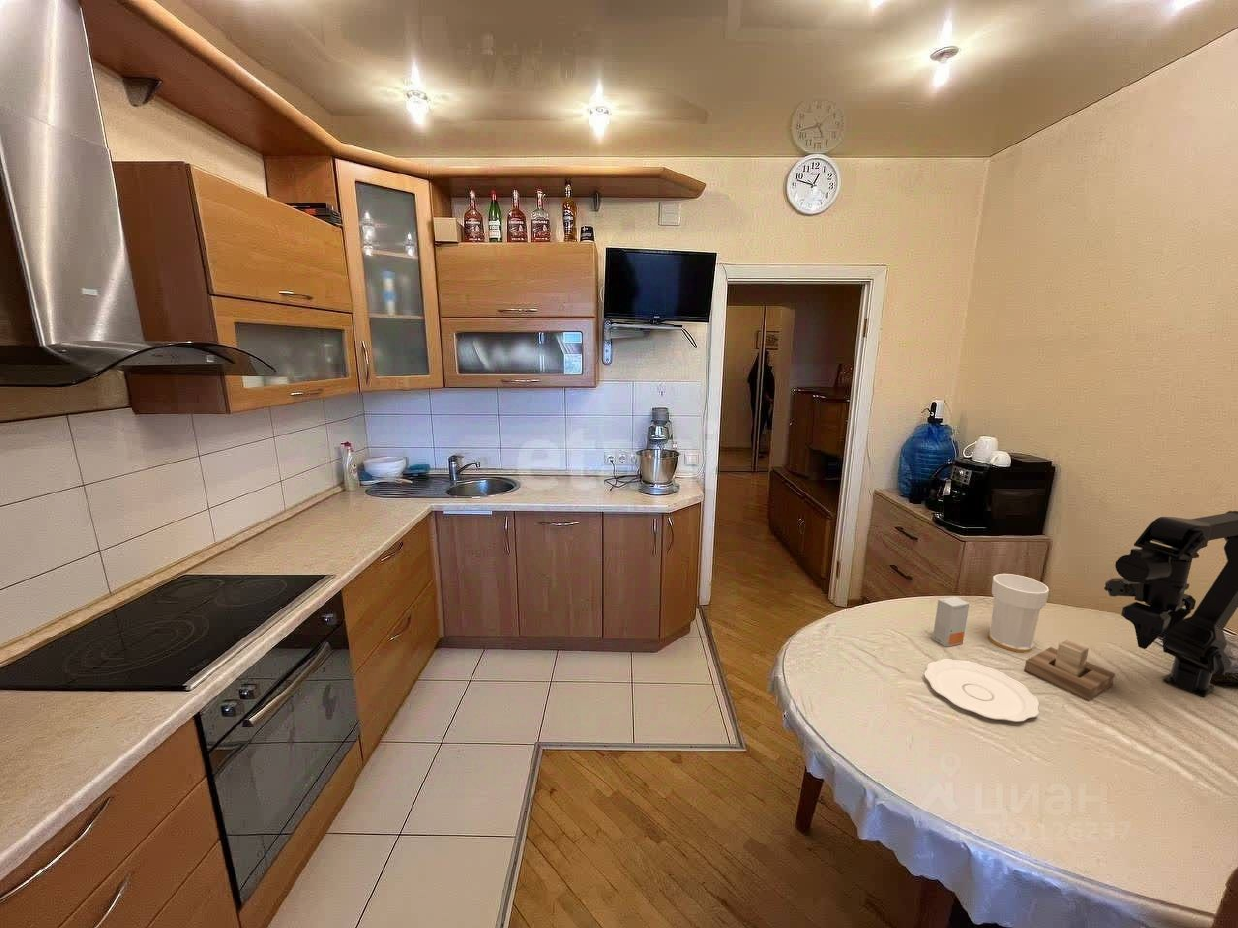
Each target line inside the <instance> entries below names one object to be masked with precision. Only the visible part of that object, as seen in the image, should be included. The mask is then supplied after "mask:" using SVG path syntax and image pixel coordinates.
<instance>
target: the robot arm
mask: <svg viewBox="0 0 1238 928" xmlns="http://www.w3.org/2000/svg"><path fill="white" fill-rule="evenodd" d="M1220 539H1224V541H1225V544H1224V546H1223V550H1224V554H1225V556H1226V557H1225V558H1226V560H1227V561H1226V563H1225V564H1224V566H1223V568H1222V569H1221V571H1220V572H1219V574H1218V575H1217V576H1216V579H1215V580H1214V581H1213V583H1212V584H1211V586H1210V587H1209V589H1208V591H1207V592H1206V593H1205V595H1204V596H1203V598H1202V599H1201V601H1200V603H1199V604H1198V606H1196V603H1197V600H1196V599H1195V598H1194V597H1193V596H1192V595H1190V594H1187V593H1185V591H1186V590H1188V589H1189V587H1190V583H1187V582H1188V578H1189V574H1190V570H1191V566H1192V562H1193V559H1198V558H1200V555H1199V554H1198V552H1199V551H1200V550H1202V549H1204V548H1207V547H1208V543H1209V541H1213V540H1220ZM1133 546H1134V547H1136V548H1132V549H1130V552H1129V554H1124V555H1122V556H1120V557H1119V558H1118V559H1117V560H1115V563H1114V564H1115V565H1114V567H1115V570H1116V572H1117V573H1118V575H1119V576H1120V577H1119V578H1116V577H1115V578H1114V577H1113V578H1110V579H1108V580H1106V581H1105V584H1104V585H1105V586H1104V590H1105V591H1107V592H1108V595H1109V596H1110V597H1117V596H1118V597H1134V600H1135V601H1136V602H1134V601H1133V602H1131V603H1128V604H1127V605H1125V606H1123V607H1122V609H1121V610H1122V611H1121V617H1123V618H1124V619H1125V620H1126V621H1128V622H1130V623H1131V624H1132V625H1133V626H1134V631H1135V635H1136V639H1137V640H1136V641H1137V646H1138V647H1139V648H1140V649H1143V650H1147V648H1149V647H1150V645H1152V644H1153V643H1154V641H1156V639H1158V638H1161V639H1162V650H1163V652H1164V653H1165V654H1168V655H1171V656H1172V657H1174V658H1173V659H1174V660H1173V663H1172V668H1171V671H1170V673H1169V674H1167V675H1166V676H1165V677H1163V680H1162V681H1163V682H1165V683H1168V684H1170V685H1173V686H1175V687H1177V688H1179V689H1182V690H1184V691H1187V692H1189V693H1192V694H1195V695H1197V696H1199V697H1200V696H1201V697H1203V698H1205V697H1207V696H1208V695H1209V694H1210V693H1212V692H1213V691H1214V689H1215V686H1213V685H1211V684H1210V683H1211V679H1212V676H1213V674H1219V675H1224V676H1225V675H1226V672H1228V670H1229V669H1231V665H1232V661H1231V660H1230V658H1229V657H1228V655H1227V654H1226V652H1225V649H1226V647H1227V645H1228V644H1227V639H1226V636H1225V633H1224V629H1225V627H1226V626H1227V624H1228V622H1229V621H1230V620H1231V618H1232V616H1233V615H1234V614H1235V612H1236V610H1237V609H1238V510H1233V511H1232V510H1228V511H1226V512H1225V513H1219V514H1214V515H1209V516H1202V517H1197V518H1191V519H1190V518H1183V517H1182V518H1181V517H1174V516H1160V517H1158V518H1156V519H1154V520H1153V521H1151V522H1150V523H1149V525H1148V526H1147V527H1146V528H1145V529H1144V531H1143V532H1142V533H1141V534H1140V536H1138V538H1137V540H1136V541H1135V542H1134V543H1133ZM1138 548H1139V549H1138ZM1144 603H1145V604H1144ZM1195 606H1196V607H1197V608H1196V609H1195ZM1183 607H1184V608H1183ZM1193 610H1194V611H1193ZM1191 611H1193V613H1192V614H1191ZM1189 614H1191V616H1189V617H1187V616H1188V615H1189Z"/></svg>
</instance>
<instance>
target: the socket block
mask: <svg viewBox="0 0 1238 928" xmlns="http://www.w3.org/2000/svg"><path fill="white" fill-rule="evenodd" d="M1057 652H1058V648H1054V647H1052V646H1050V647H1047V648H1046V649H1044V650H1043V651H1040V652H1039V653H1036V654H1035V655H1033V656H1031V657H1030V658H1028V659H1026V660H1025V665H1024V672H1025V673H1028V674H1029V675H1032V676H1034V677H1035V678H1037V679H1039V680H1042V681H1045V682H1046V683H1048V684H1050V685H1052V686H1054V687H1057V688H1059V689H1062V690H1063V691H1065V692H1067V693H1070V694H1071V695H1074V696H1076V697H1078V698H1081V699H1083V700H1085V701H1087V702H1091V701H1092V700H1093V699H1094V698H1096V697H1098V696H1099V695H1100V694H1102V693H1103V692H1105V691H1106V690H1108V689H1109V688H1111V687H1112V686H1113V685H1114V680H1115V676H1116V673H1115V672H1112V671H1110V670H1108V669H1105V668H1102V667H1100V666H1098V665H1096V664H1093V663H1091V662H1088V661H1086V665H1085V670H1084V675H1083V676H1082V677H1081V678H1079V677H1077V676H1075V675H1073V674H1070V673H1068V672H1066V671H1064V670H1061V669H1059V668H1057V667H1055V662H1056V657H1057Z"/></svg>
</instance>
